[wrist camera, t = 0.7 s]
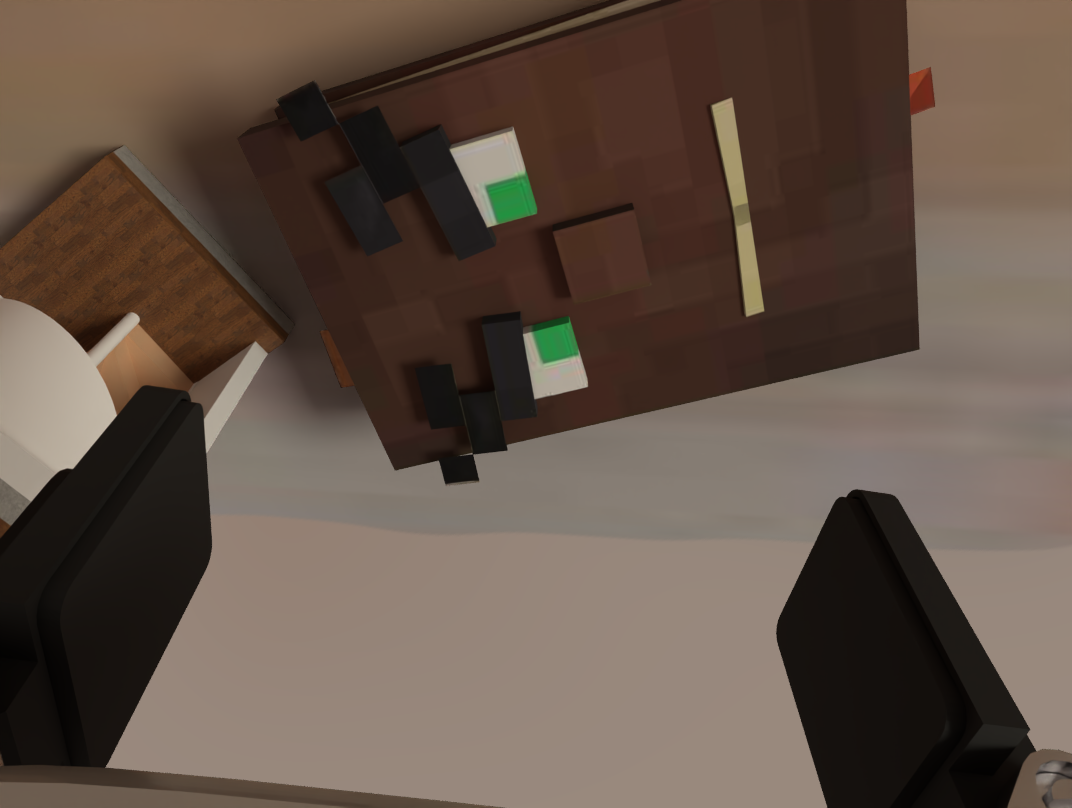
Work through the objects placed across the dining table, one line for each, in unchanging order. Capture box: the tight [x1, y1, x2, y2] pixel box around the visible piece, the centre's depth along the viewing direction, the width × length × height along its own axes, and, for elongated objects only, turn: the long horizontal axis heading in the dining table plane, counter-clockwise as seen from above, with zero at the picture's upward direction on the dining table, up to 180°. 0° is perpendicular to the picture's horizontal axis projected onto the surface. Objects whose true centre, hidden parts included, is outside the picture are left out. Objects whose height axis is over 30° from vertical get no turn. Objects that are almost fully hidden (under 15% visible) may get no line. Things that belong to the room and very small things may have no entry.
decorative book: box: [237, 0, 935, 486], centre depth 36 cm, size 19×8×30 cm
